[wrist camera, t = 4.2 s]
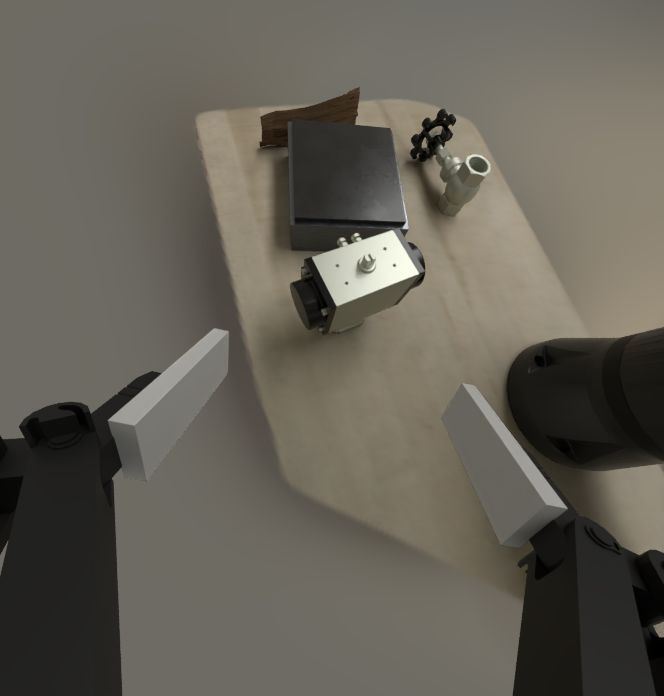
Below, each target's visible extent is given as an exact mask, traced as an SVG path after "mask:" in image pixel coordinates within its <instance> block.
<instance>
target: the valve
mask: <svg viewBox="0 0 664 696" xmlns="http://www.w3.org/2000/svg"><path fill="white" fill-rule="evenodd" d="M444 118H446V119H445V120H444ZM455 122H456V118H455V117H454V115H453V114H450V115H449V116H448V114H447V112H446V111H445V109H441V110H440V111H439V112H438V114H437V118H436V119H435V120H434V121H431V120H430V118H426V119H425V120H424V121H423V122H422V127H423V128H424V129H423V131H422V132H421V133H420V134H419V135H418V134H415V135H414V136H413V137H412V138H411V142H412V144H413V146H414V147H415V148H413V149H412V150H411V152H410V155H411V157H412V158H413V159H416V158H417V156H416V155H417V154H418V153H420V154H419V159H420V161H421V162H425V161H426V160H427V158H431V157H433V155H436V158H435V159H436V160H437V162H438V164H439V165H440V166H441V167H442V169H441V172H440V177H441V179H442V180H443V182H447V185H446V188H445V193H444V194H443V195H442V196H441V198H440V200H439V201H438V203H437V205H438V206H439V208H440V210H441V212H442V213H443V214H446V215H450V216H456V214H457V213H458V212H459V211H460V210H461V208H462V207H463V206H464V204H466V203H468V202H469V201H471V200H472V199H473V198H474V196H475V195H476V193H477V192H478V190H479V187H480V183H481V182H482V181H483V180H484V178H485V177H486V176H487V175H488V173H489V172H490V171H491V169H492V168H491V165H490V163H489V162H488V160H487V159H486V158H484V157H483V156H481V155H477V154H470V155H469V156H468V157H467V158H466V159H465V161H464V162H462V160H461V158H459V157H456V158H452V155H451V153H450V151H449V150H448V149H447V148H446V147H445V148H444V146H445V142H446V141H449V140H450V139H451V138H452V136H453V133H452V132H451V130H450V129H449V128H448V126H449V125H450V124H451V125H452V126H453V125H454V124H455ZM437 126H442V132H441V134H439V133H437V132H436V131H435V130H433V131H432V132H430V133H429V131H430V130H432V129H433V128H435V127H437ZM425 137H426V143H427V148H422V147H421V146H422V141H423V139H424V138H425Z"/></svg>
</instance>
